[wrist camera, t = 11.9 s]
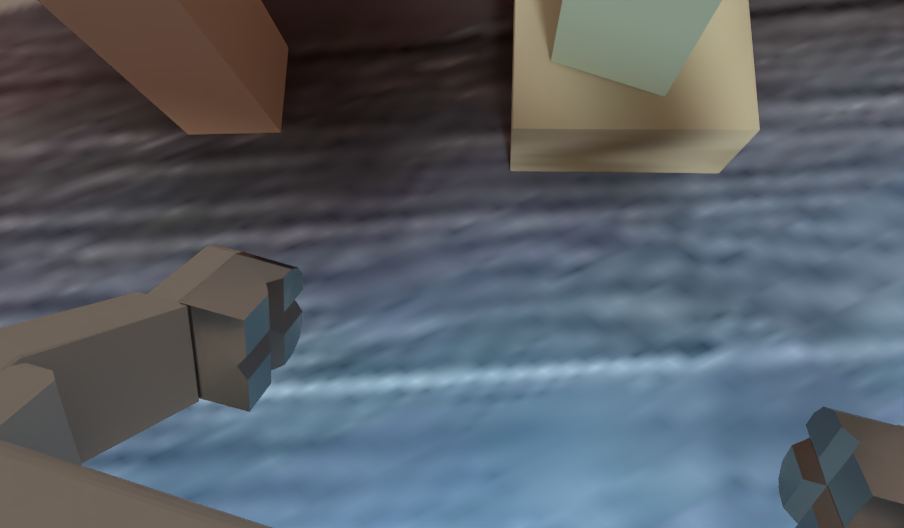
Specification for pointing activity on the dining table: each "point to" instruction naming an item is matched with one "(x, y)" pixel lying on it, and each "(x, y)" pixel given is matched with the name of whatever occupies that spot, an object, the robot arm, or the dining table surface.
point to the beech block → (631, 103)
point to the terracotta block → (191, 57)
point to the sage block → (631, 38)
